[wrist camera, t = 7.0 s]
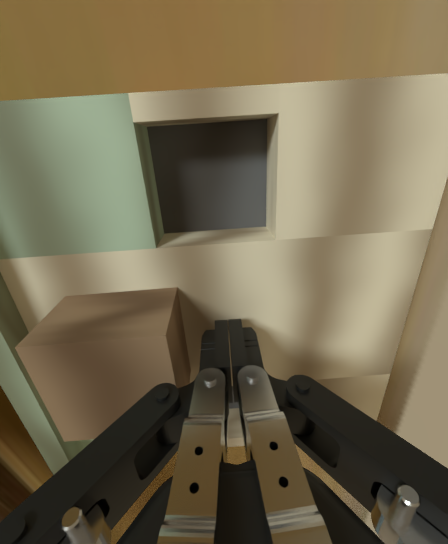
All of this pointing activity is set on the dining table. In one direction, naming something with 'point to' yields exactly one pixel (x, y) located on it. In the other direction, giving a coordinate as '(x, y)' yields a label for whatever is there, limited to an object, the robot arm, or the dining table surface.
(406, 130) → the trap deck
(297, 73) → the dining table surface
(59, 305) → the walnut block
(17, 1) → the dining table surface
